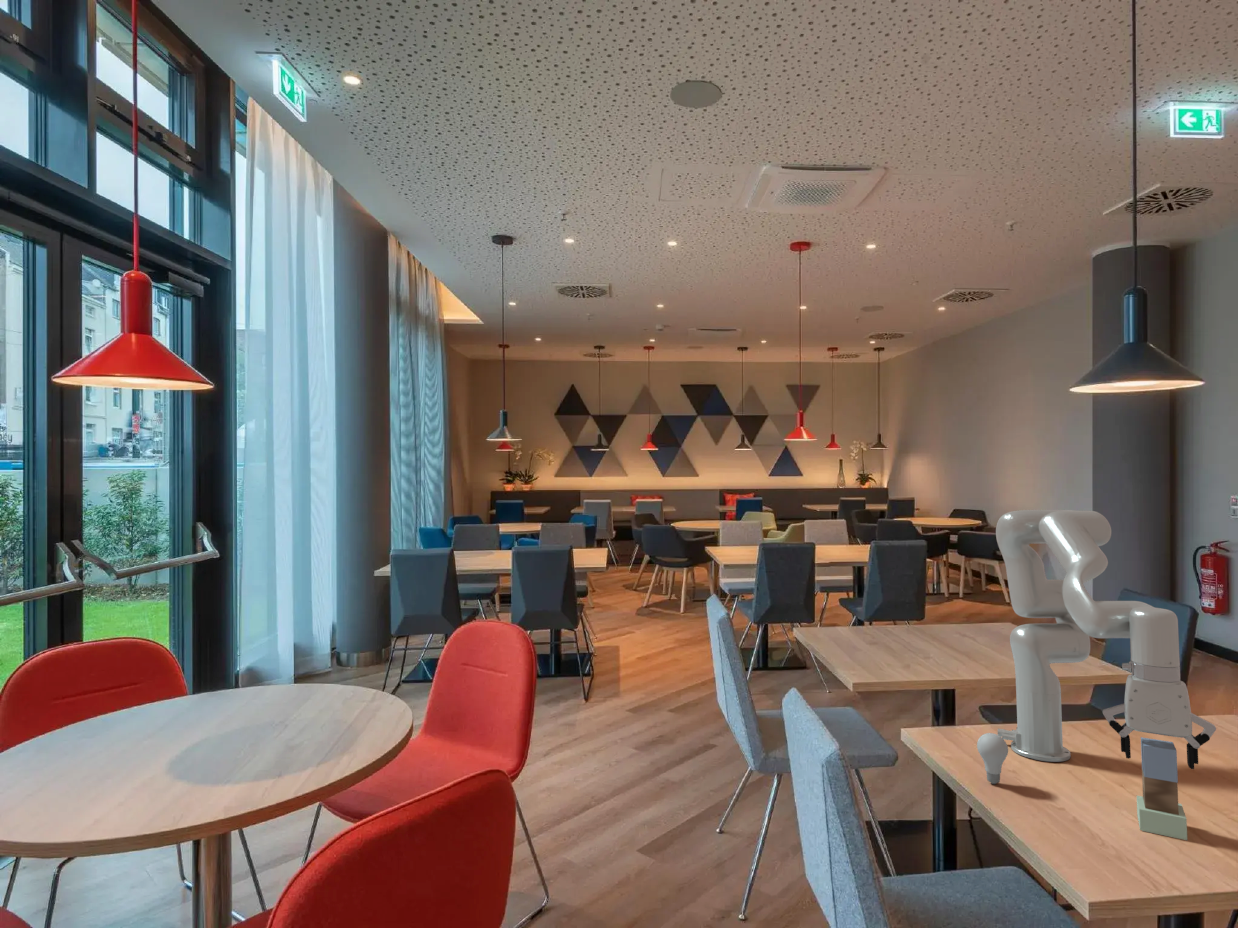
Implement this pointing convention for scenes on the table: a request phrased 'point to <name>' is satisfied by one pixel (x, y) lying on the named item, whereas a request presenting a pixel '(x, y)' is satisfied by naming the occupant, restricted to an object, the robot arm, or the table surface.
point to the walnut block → (1160, 795)
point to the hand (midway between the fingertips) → (1158, 761)
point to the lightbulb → (992, 755)
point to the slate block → (1159, 759)
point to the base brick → (1162, 821)
